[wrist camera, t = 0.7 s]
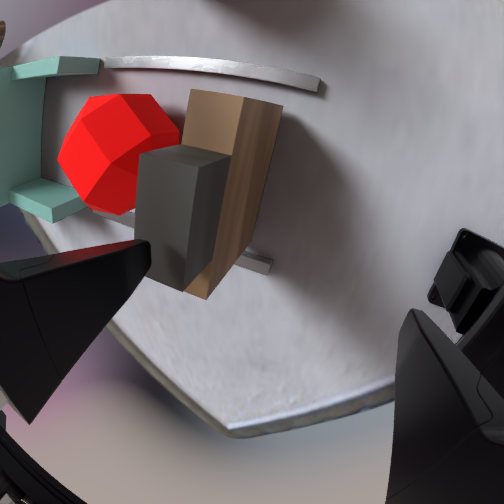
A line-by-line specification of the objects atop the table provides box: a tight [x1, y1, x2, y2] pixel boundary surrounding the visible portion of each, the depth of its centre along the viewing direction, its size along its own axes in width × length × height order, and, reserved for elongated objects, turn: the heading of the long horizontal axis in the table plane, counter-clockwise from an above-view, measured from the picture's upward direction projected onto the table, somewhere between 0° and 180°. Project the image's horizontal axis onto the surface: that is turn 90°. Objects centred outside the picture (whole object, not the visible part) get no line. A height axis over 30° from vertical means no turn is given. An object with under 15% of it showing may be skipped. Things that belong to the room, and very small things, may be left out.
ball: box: [57, 94, 180, 216], centre depth 19 cm, size 8×8×8 cm
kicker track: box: [92, 56, 321, 276], centre depth 22 cm, size 18×15×1 cm
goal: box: [0, 56, 100, 223], centre depth 21 cm, size 10×15×8 cm
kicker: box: [134, 89, 283, 300], centre depth 15 cm, size 2×10×11 cm, turn 167°
